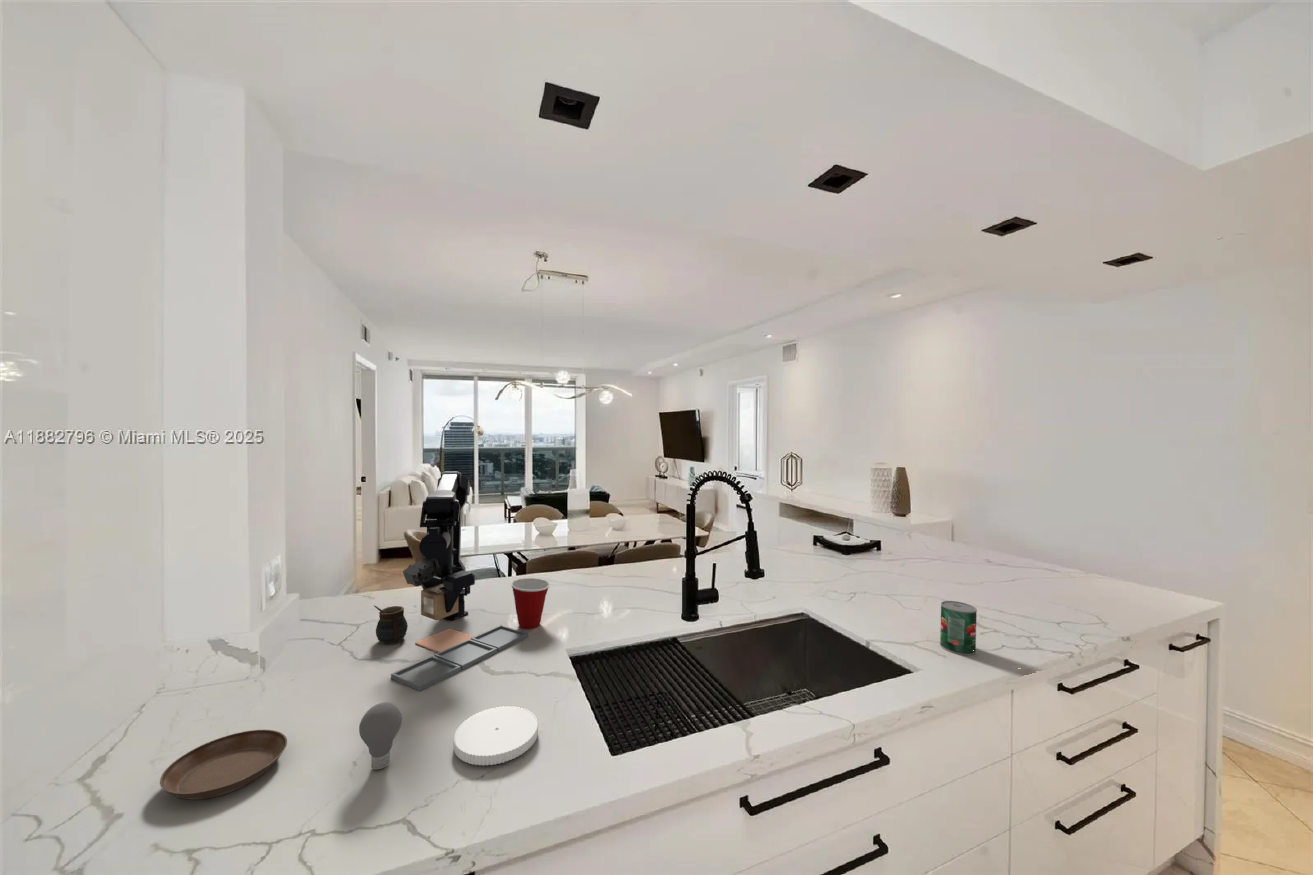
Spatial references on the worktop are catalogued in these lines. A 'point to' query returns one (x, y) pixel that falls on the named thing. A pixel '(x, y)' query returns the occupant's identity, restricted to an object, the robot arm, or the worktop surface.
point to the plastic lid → (495, 735)
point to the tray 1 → (425, 672)
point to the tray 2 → (466, 653)
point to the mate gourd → (391, 625)
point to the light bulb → (380, 732)
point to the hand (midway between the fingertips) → (440, 609)
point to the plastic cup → (529, 600)
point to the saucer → (223, 764)
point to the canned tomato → (958, 627)
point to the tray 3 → (500, 637)
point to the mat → (443, 640)
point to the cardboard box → (435, 603)
